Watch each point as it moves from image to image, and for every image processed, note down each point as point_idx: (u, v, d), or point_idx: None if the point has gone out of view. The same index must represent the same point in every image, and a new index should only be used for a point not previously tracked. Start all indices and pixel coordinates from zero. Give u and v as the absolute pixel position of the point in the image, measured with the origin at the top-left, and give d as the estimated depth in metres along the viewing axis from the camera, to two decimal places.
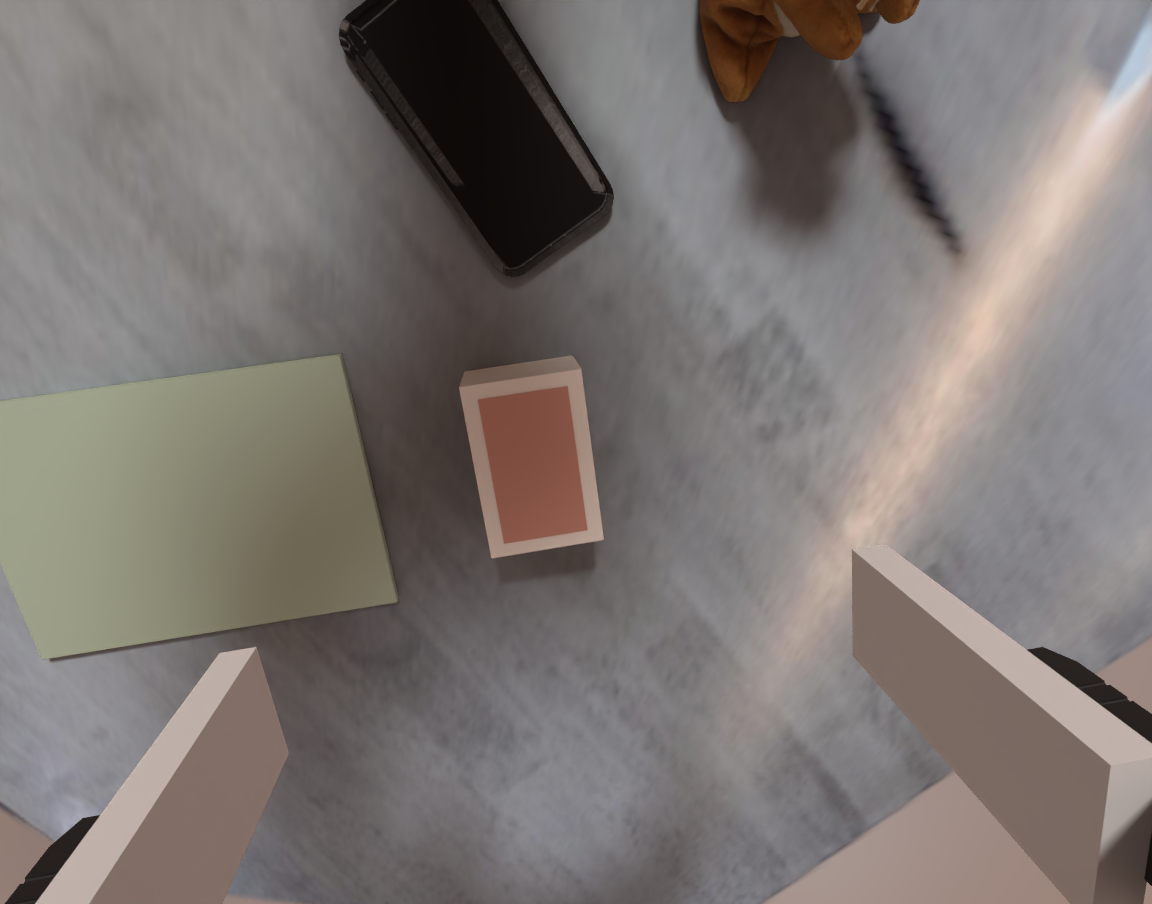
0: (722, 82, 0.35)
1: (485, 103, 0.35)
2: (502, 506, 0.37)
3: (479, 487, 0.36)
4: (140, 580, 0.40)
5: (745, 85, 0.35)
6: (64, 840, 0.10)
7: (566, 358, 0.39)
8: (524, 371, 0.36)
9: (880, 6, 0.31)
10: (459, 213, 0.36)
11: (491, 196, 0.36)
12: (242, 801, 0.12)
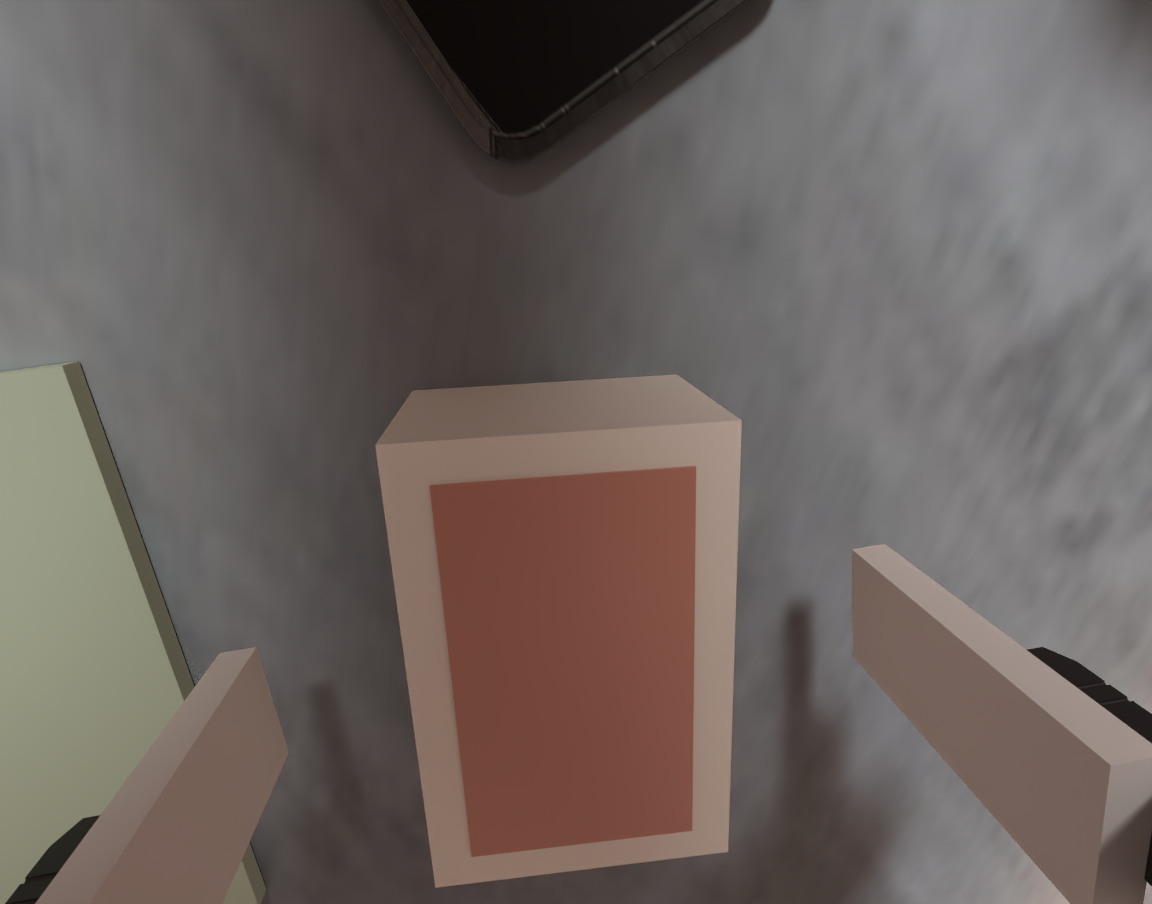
0: None
1: None
2: (475, 768, 0.14)
3: (416, 719, 0.13)
4: None
5: None
6: (64, 840, 0.10)
7: (667, 381, 0.16)
8: (568, 408, 0.13)
9: None
10: None
11: None
12: (242, 801, 0.12)
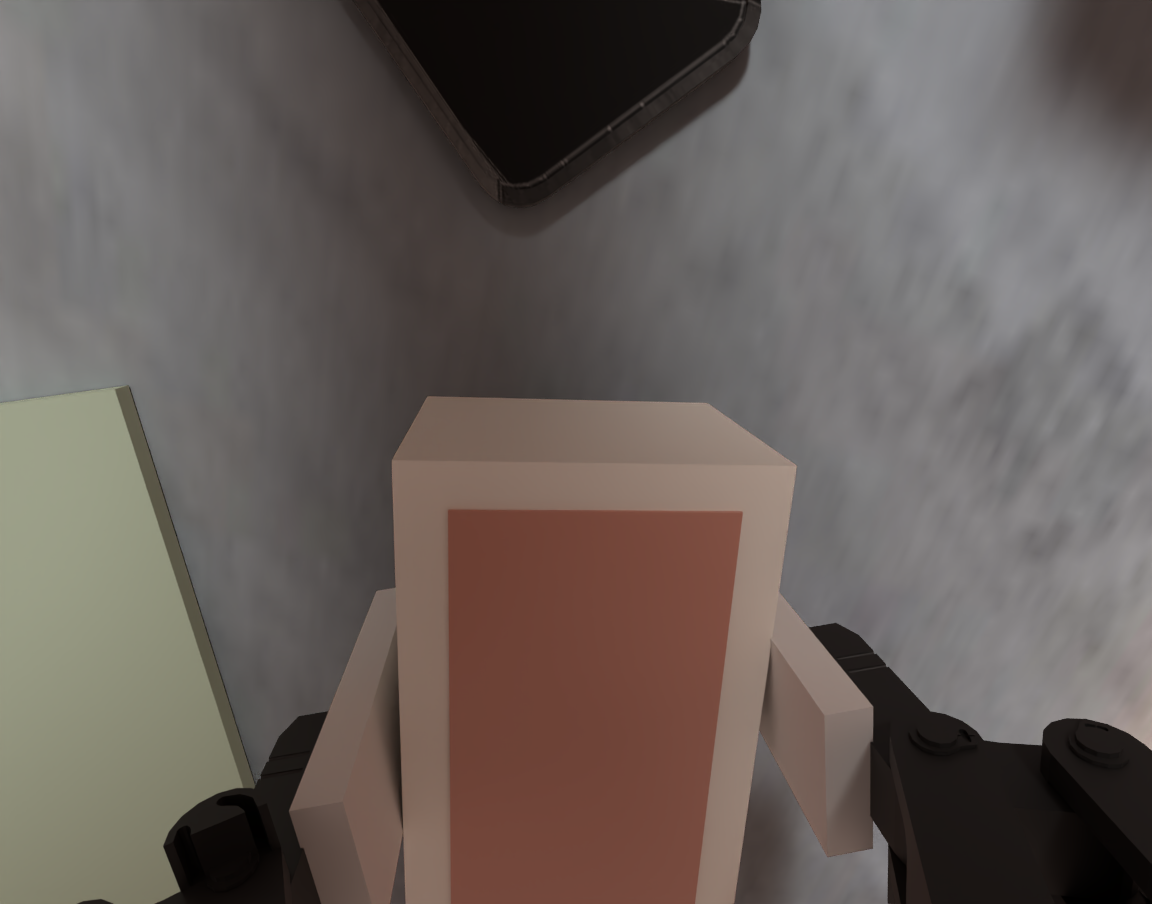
0: None
1: None
2: (465, 824, 0.12)
3: (405, 766, 0.12)
4: None
5: None
6: (290, 731, 0.12)
7: (701, 412, 0.15)
8: (601, 435, 0.12)
9: None
10: (389, 44, 0.15)
11: (467, 3, 0.15)
12: None
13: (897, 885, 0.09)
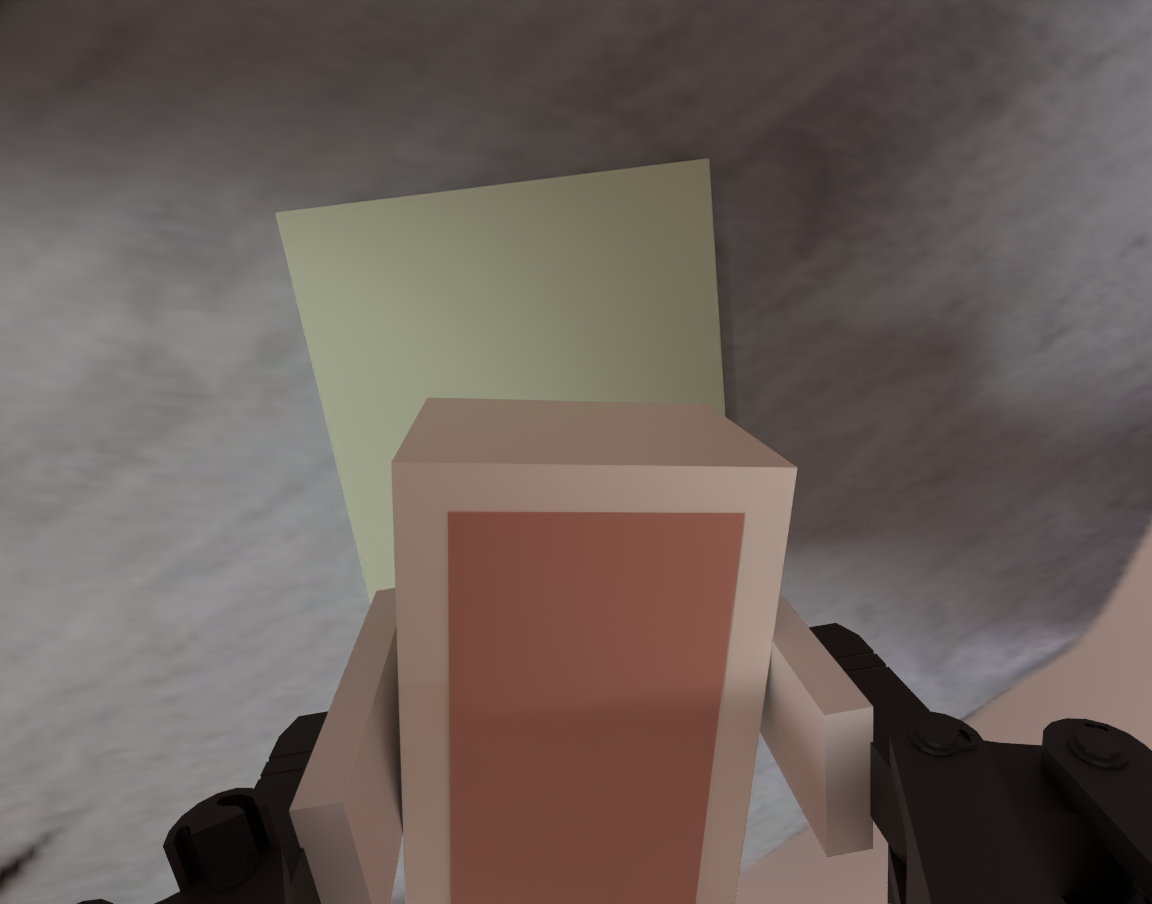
0: None
1: None
2: (465, 826, 0.12)
3: (405, 769, 0.12)
4: None
5: None
6: (290, 731, 0.12)
7: (702, 413, 0.15)
8: (601, 436, 0.12)
9: None
10: None
11: None
12: None
13: (897, 885, 0.09)
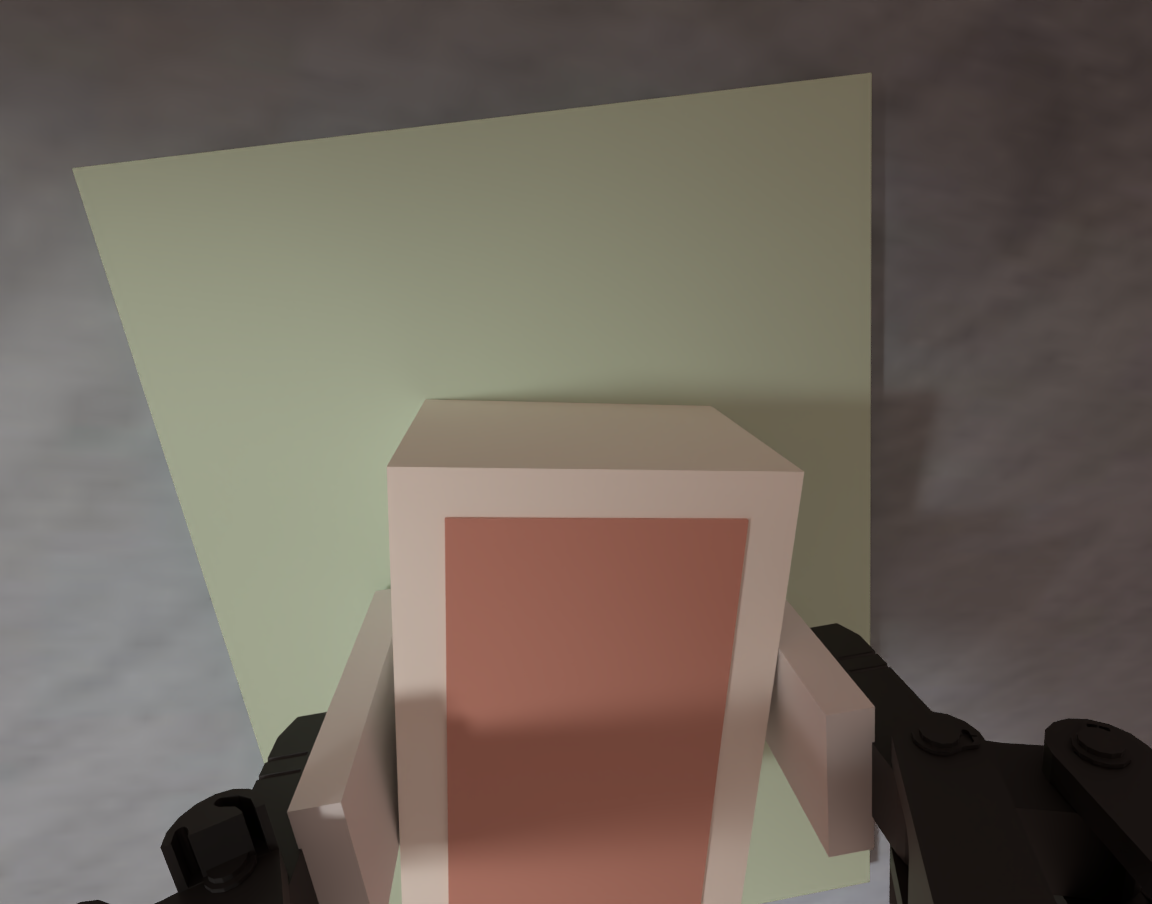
0: None
1: None
2: (464, 839, 0.12)
3: (402, 780, 0.11)
4: None
5: None
6: (289, 732, 0.12)
7: (705, 415, 0.14)
8: (603, 439, 0.12)
9: None
10: None
11: None
12: None
13: (899, 886, 0.09)
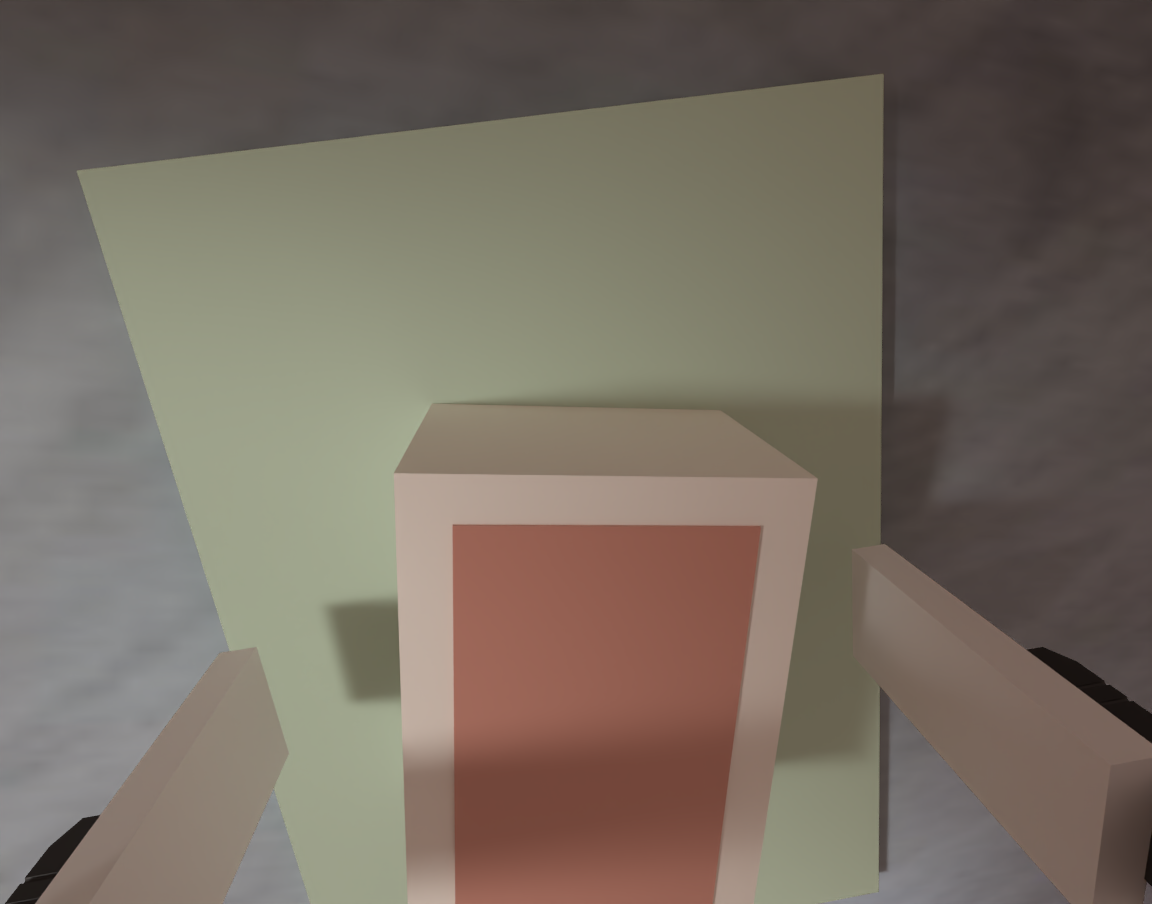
0: None
1: None
2: (471, 850, 0.12)
3: (408, 790, 0.11)
4: None
5: None
6: (64, 840, 0.10)
7: (715, 419, 0.14)
8: (612, 445, 0.12)
9: None
10: None
11: None
12: (242, 801, 0.12)
13: None
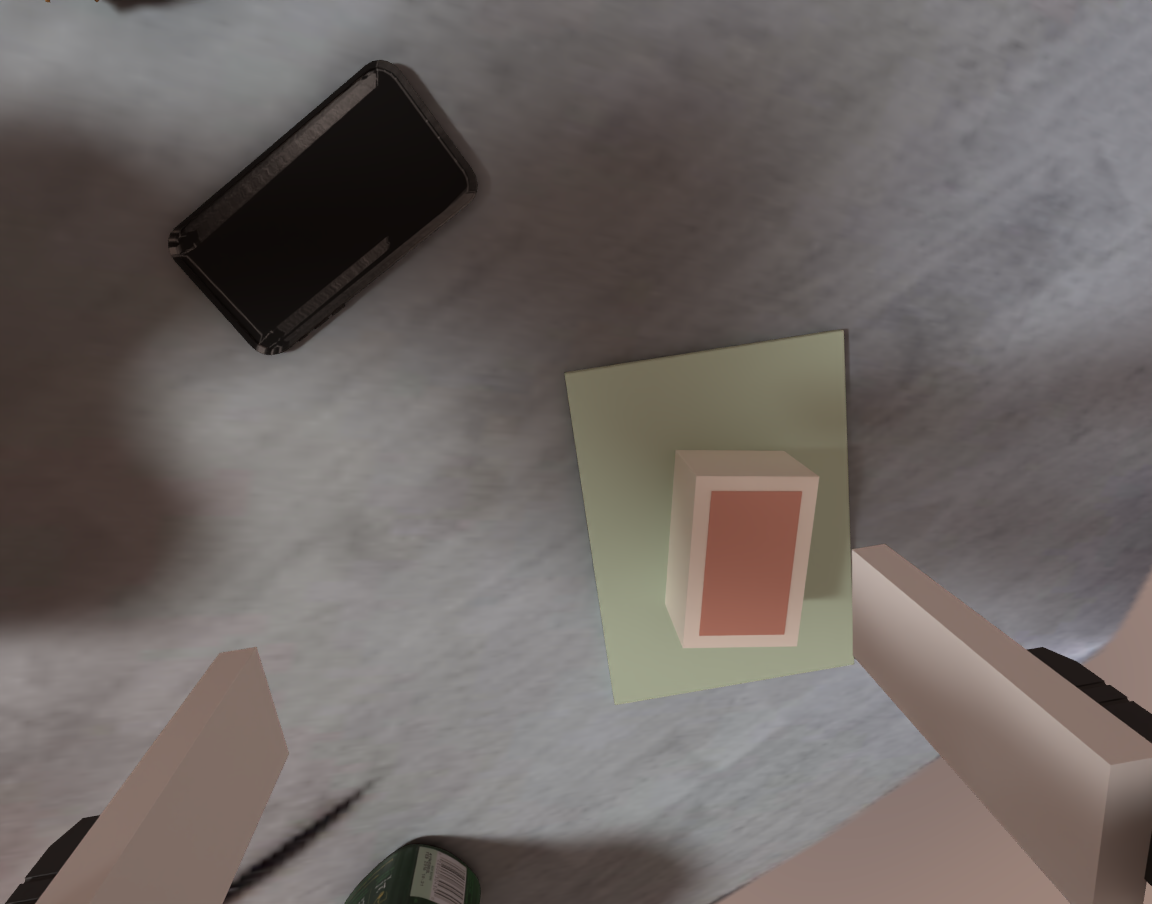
0: None
1: (306, 212, 0.34)
2: (706, 599, 0.36)
3: (689, 576, 0.35)
4: None
5: None
6: (64, 841, 0.10)
7: (782, 455, 0.38)
8: (751, 466, 0.36)
9: None
10: (416, 241, 0.34)
11: (395, 206, 0.34)
12: (242, 801, 0.12)
13: None
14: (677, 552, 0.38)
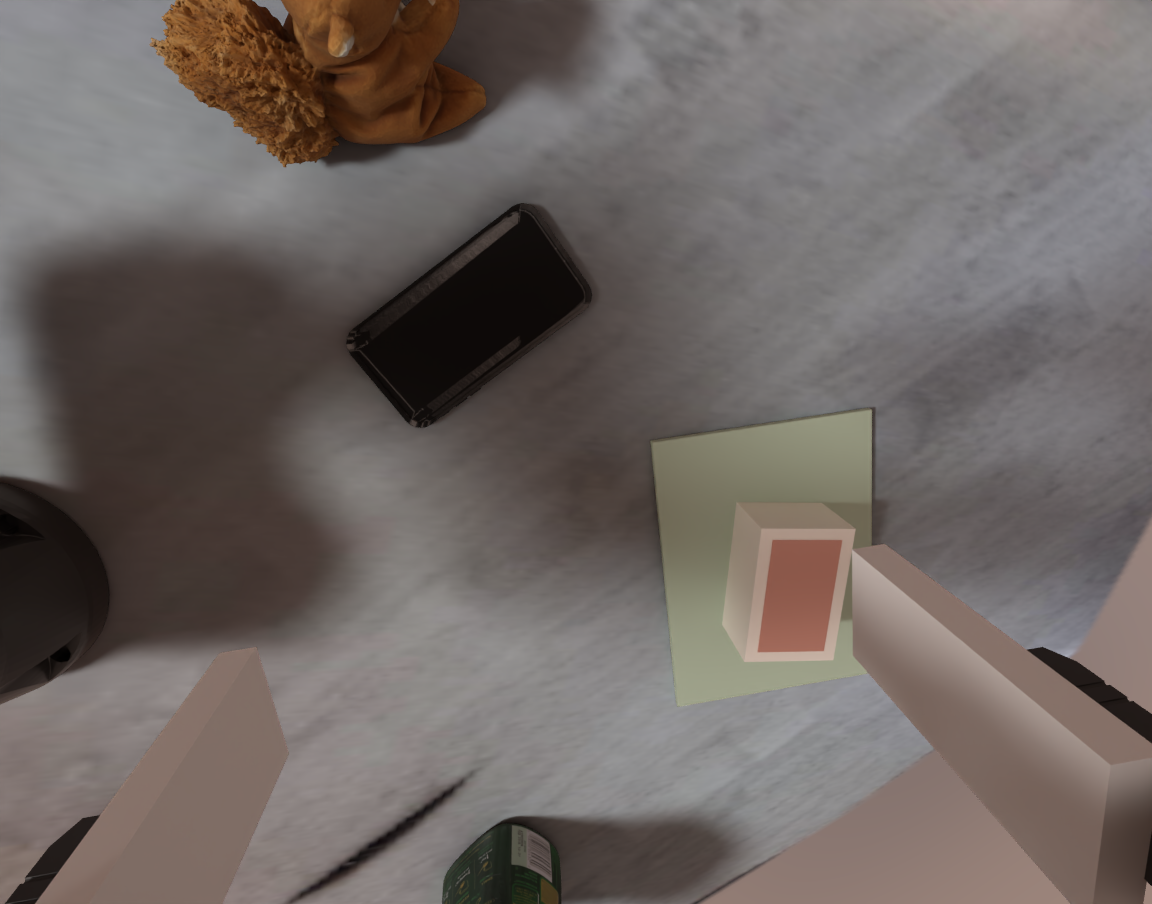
0: (472, 113, 0.39)
1: (456, 317, 0.43)
2: (765, 623, 0.45)
3: (752, 606, 0.45)
4: None
5: (474, 90, 0.38)
6: (64, 840, 0.10)
7: (822, 507, 0.48)
8: (801, 518, 0.45)
9: None
10: (542, 340, 0.43)
11: (527, 313, 0.43)
12: (242, 801, 0.12)
13: None
14: (738, 584, 0.47)
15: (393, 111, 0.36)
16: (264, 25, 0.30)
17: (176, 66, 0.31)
